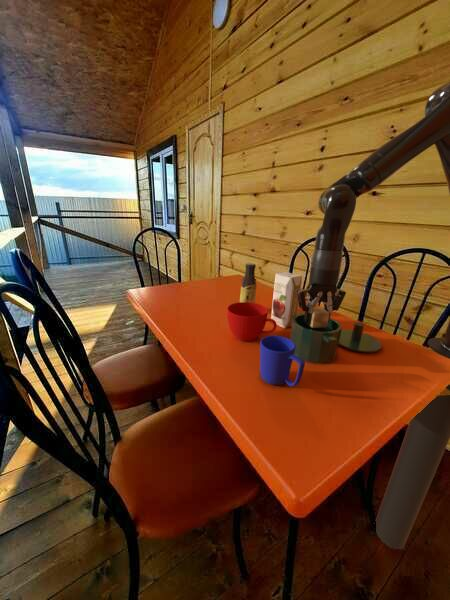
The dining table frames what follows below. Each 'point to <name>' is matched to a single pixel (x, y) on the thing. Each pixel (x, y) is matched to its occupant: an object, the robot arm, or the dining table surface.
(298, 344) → the pot
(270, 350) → the mug
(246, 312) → the ceramic cup
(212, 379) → the dining table surface
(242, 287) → the sauce bottle
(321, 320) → the block
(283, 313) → the juice carton
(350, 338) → the lid
